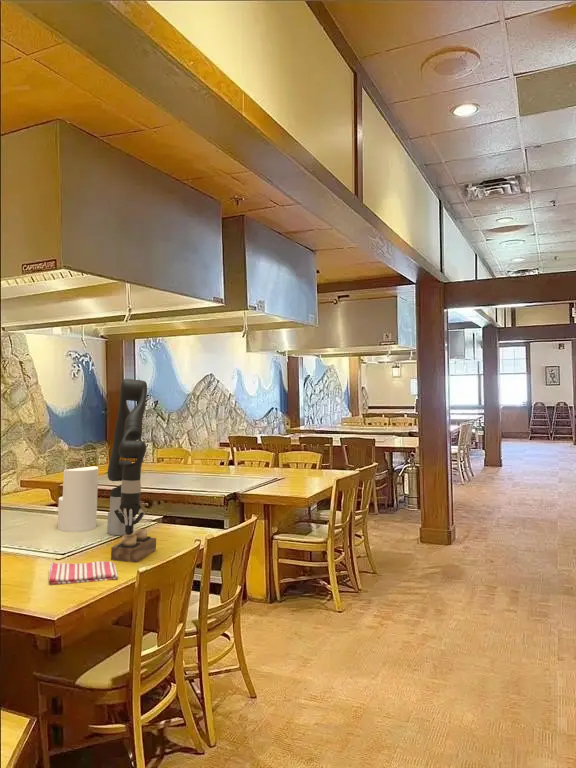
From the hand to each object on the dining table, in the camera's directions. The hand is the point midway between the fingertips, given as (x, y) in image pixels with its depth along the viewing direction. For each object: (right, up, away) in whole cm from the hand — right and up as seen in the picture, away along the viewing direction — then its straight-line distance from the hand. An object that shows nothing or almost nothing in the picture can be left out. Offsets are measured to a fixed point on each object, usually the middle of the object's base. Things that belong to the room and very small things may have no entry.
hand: (129, 534), depth 239 cm
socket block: (+1, -10, +5) cm, 11 cm away
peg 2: (+2, -10, +10) cm, 14 cm away
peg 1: (0, -10, 0) cm, 10 cm away
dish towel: (-11, -10, -22) cm, 26 cm away
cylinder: (-37, -8, +45) cm, 59 cm away
